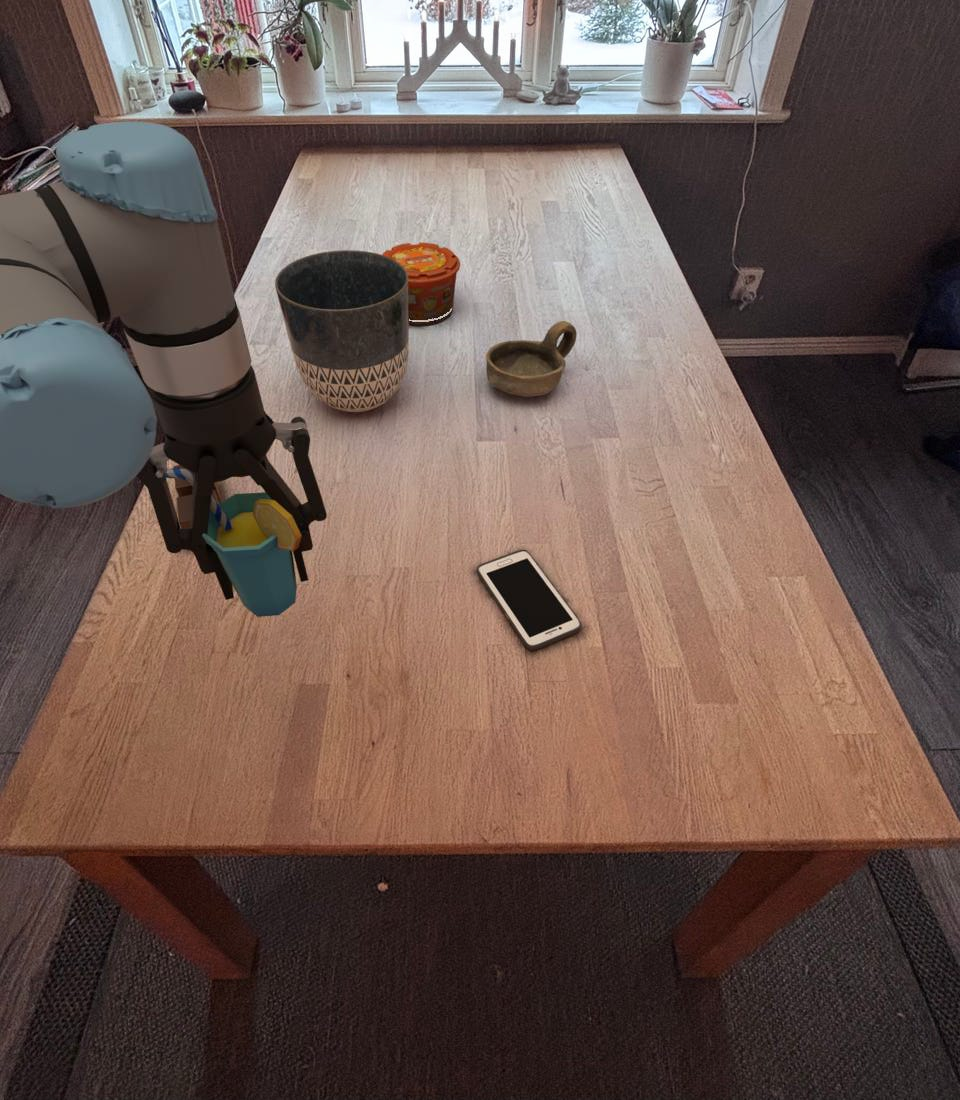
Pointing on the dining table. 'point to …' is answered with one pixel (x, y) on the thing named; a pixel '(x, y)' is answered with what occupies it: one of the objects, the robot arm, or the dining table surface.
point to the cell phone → (528, 599)
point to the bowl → (530, 362)
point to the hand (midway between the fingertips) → (265, 579)
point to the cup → (253, 547)
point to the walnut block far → (187, 489)
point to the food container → (428, 279)
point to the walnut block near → (188, 509)
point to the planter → (347, 325)
